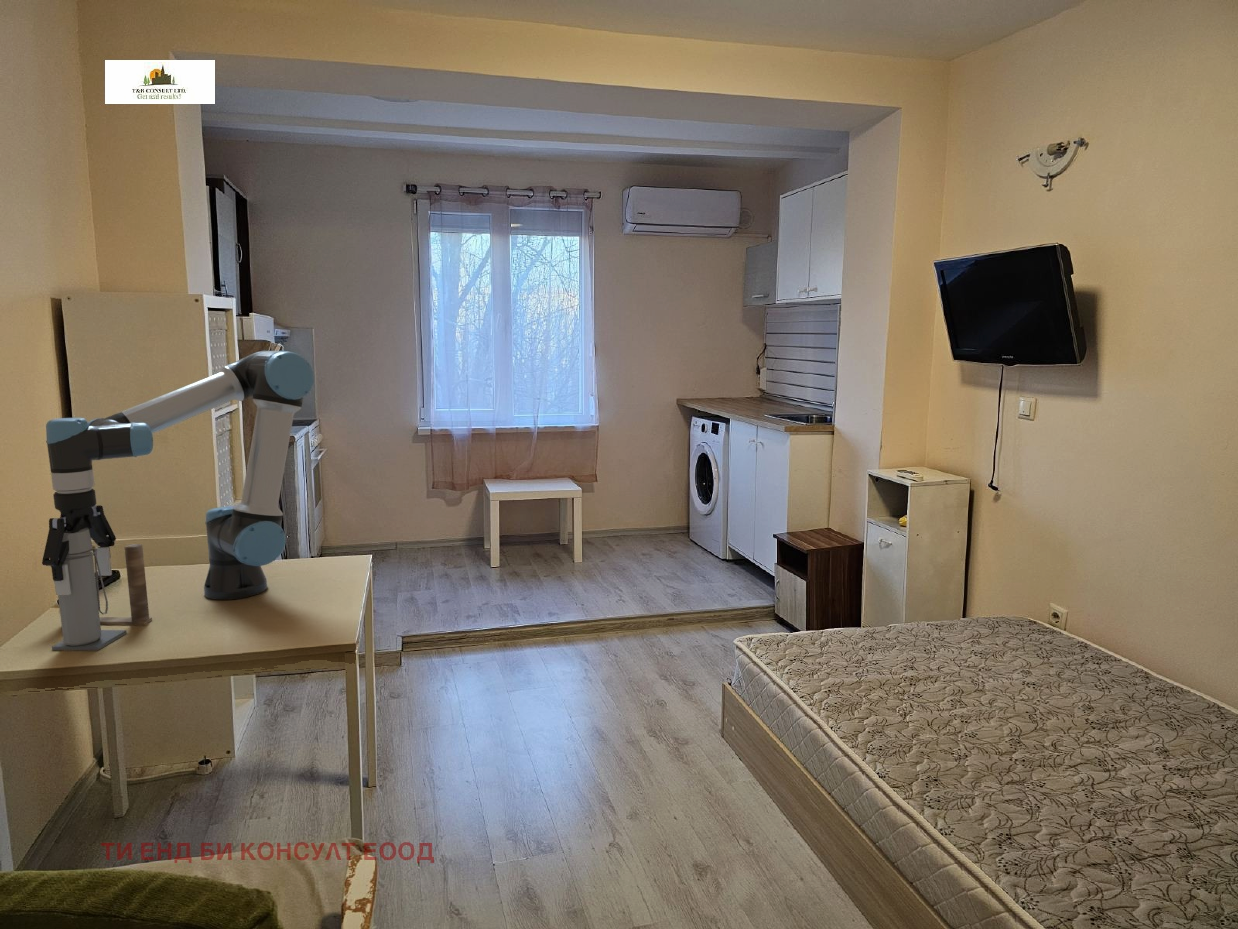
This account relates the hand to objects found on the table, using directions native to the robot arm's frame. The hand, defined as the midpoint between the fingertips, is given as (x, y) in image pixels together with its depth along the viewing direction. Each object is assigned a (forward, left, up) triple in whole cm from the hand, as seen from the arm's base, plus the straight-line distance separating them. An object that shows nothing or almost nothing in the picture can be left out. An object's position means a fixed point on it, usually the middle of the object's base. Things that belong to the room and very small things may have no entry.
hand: (85, 584), depth 177 cm
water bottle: (0, +1, -12) cm, 13 cm away
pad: (0, 0, -13) cm, 13 cm away
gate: (+4, -12, -13) cm, 18 cm away
